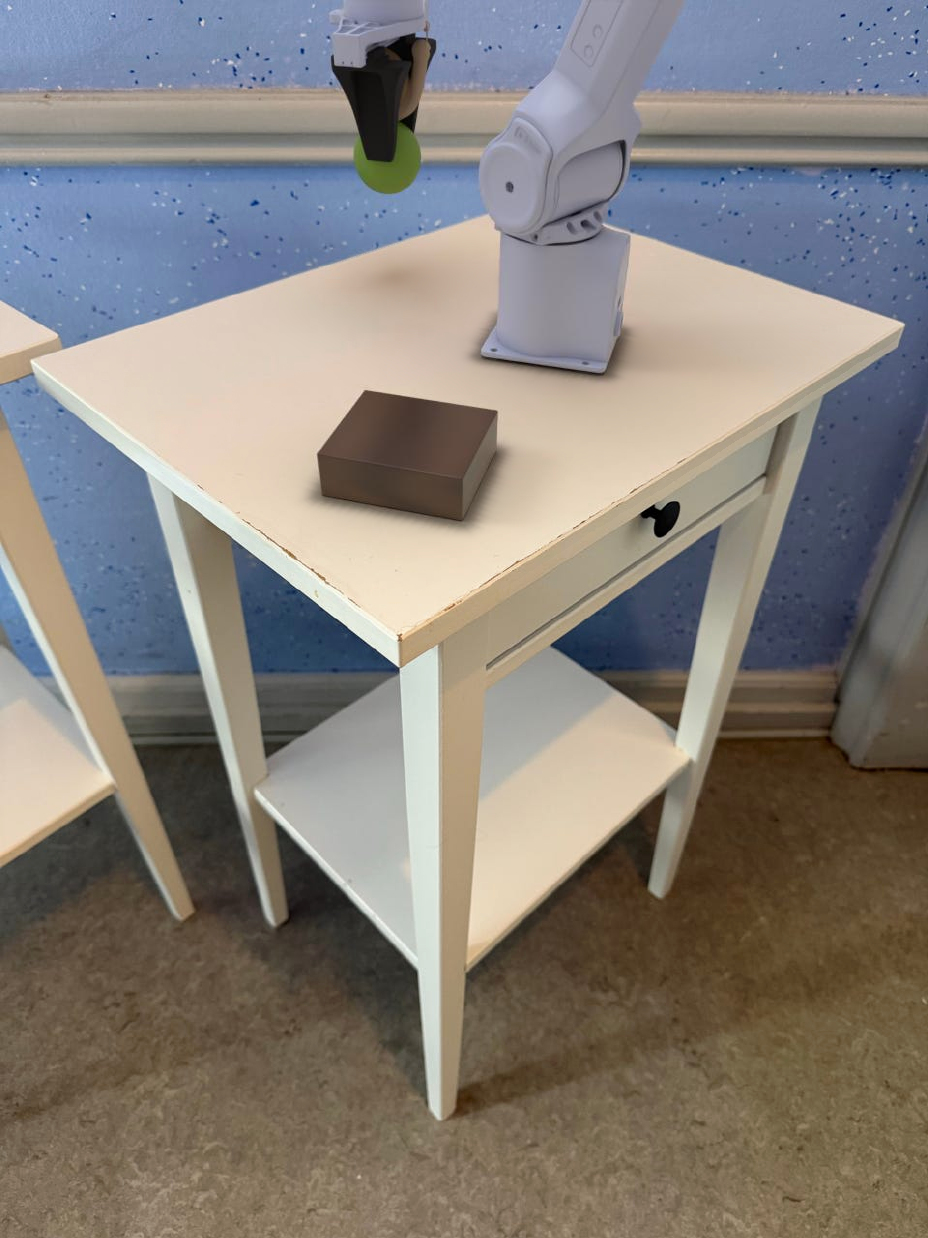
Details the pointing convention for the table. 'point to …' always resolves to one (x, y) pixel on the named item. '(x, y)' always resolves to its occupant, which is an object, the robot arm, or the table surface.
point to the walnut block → (409, 454)
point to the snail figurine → (399, 132)
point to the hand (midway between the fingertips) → (389, 151)
